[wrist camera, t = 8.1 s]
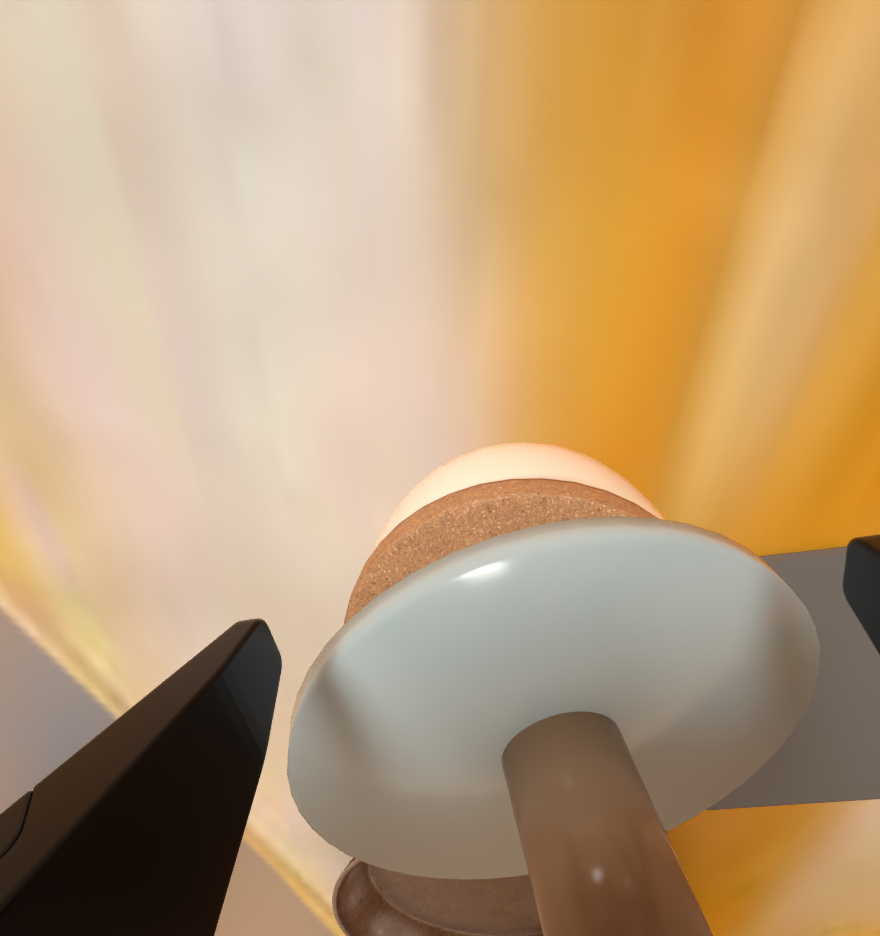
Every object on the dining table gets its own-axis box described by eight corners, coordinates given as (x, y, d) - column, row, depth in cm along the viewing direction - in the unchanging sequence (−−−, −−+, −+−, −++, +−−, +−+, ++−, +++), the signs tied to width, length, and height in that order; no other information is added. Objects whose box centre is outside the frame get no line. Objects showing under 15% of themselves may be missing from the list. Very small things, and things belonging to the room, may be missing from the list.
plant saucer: (620, 947, 37) (632, 1008, 34) (354, 929, 37) (344, 987, 35) (671, 775, 28) (691, 838, 26) (330, 757, 29) (315, 815, 27)
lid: (851, 454, 11) (1209, 688, 6) (756, 790, 18) (895, 1015, 13) (200, 601, 11) (91, 962, 6) (363, 887, 18) (369, 1153, 13)
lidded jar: (554, 667, 26) (590, 891, 17) (344, 565, 24) (266, 753, 16) (708, 485, 21) (857, 659, 13) (464, 349, 20) (449, 442, 11)
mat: (972, 532, 22) (981, 538, 22) (899, 789, 29) (905, 797, 29) (568, 578, 24) (570, 583, 24) (589, 810, 31) (590, 817, 30)
